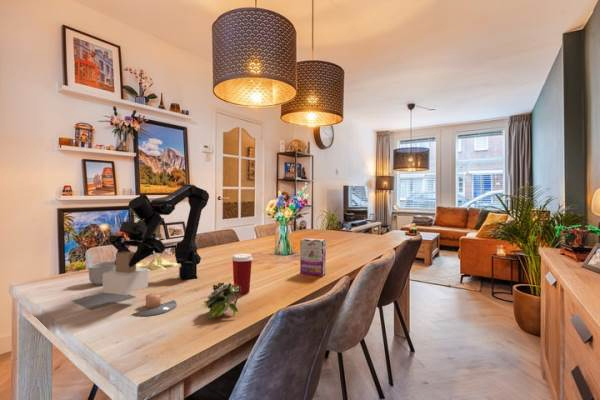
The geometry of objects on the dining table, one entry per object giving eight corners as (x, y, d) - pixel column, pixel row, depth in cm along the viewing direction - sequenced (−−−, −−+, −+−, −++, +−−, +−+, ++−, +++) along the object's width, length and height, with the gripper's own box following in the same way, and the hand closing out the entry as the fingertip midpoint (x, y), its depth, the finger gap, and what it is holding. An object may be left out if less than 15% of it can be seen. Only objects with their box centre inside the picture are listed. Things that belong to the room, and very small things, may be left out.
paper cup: (255, 290, 116) (256, 254, 115) (245, 297, 109) (246, 258, 108) (237, 288, 118) (238, 252, 118) (226, 294, 111) (227, 256, 111)
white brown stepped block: (125, 283, 104) (125, 249, 104) (147, 286, 102) (147, 250, 101) (102, 292, 95) (102, 254, 95) (126, 295, 93) (126, 256, 93)
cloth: (126, 268, 147) (126, 255, 147) (161, 261, 163) (161, 249, 163) (153, 275, 135) (153, 262, 135) (188, 267, 151) (188, 255, 151)
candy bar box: (325, 274, 141) (326, 239, 141) (322, 276, 137) (323, 240, 136) (303, 271, 145) (304, 237, 145) (299, 273, 141) (300, 238, 140)
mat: (115, 291, 112) (115, 289, 112) (136, 298, 105) (136, 297, 105) (70, 302, 100) (70, 300, 100) (91, 311, 93) (91, 309, 93)
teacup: (104, 288, 115) (104, 267, 114) (80, 286, 117) (80, 265, 117) (132, 278, 128) (132, 259, 128) (110, 276, 130) (110, 258, 130)
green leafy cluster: (217, 326, 97) (227, 289, 104) (244, 327, 92) (253, 288, 99) (192, 316, 89) (205, 277, 96) (221, 317, 84) (232, 275, 91)
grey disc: (173, 297, 107) (173, 286, 107) (179, 311, 95) (179, 298, 95) (128, 303, 100) (128, 292, 100) (128, 319, 88) (128, 306, 88)
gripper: (112, 211, 104) (82, 249, 93) (159, 213, 99) (133, 253, 89) (130, 231, 112) (104, 268, 101) (174, 234, 107) (152, 273, 97)
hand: (122, 265), depth 97 cm, fingers closed on white brown stepped block, 5 cm apart
